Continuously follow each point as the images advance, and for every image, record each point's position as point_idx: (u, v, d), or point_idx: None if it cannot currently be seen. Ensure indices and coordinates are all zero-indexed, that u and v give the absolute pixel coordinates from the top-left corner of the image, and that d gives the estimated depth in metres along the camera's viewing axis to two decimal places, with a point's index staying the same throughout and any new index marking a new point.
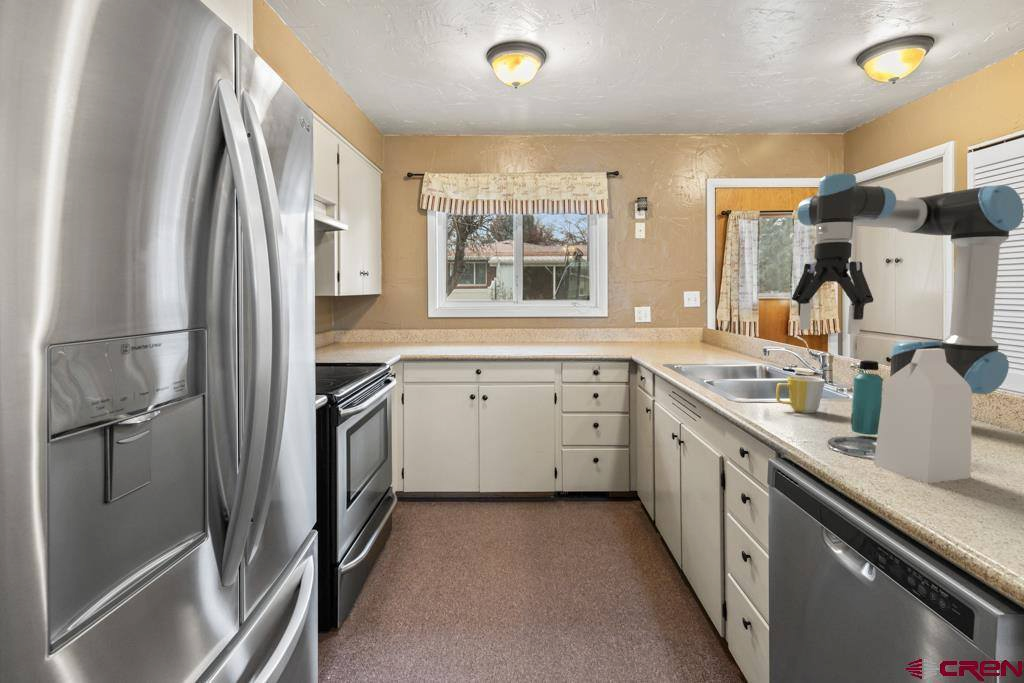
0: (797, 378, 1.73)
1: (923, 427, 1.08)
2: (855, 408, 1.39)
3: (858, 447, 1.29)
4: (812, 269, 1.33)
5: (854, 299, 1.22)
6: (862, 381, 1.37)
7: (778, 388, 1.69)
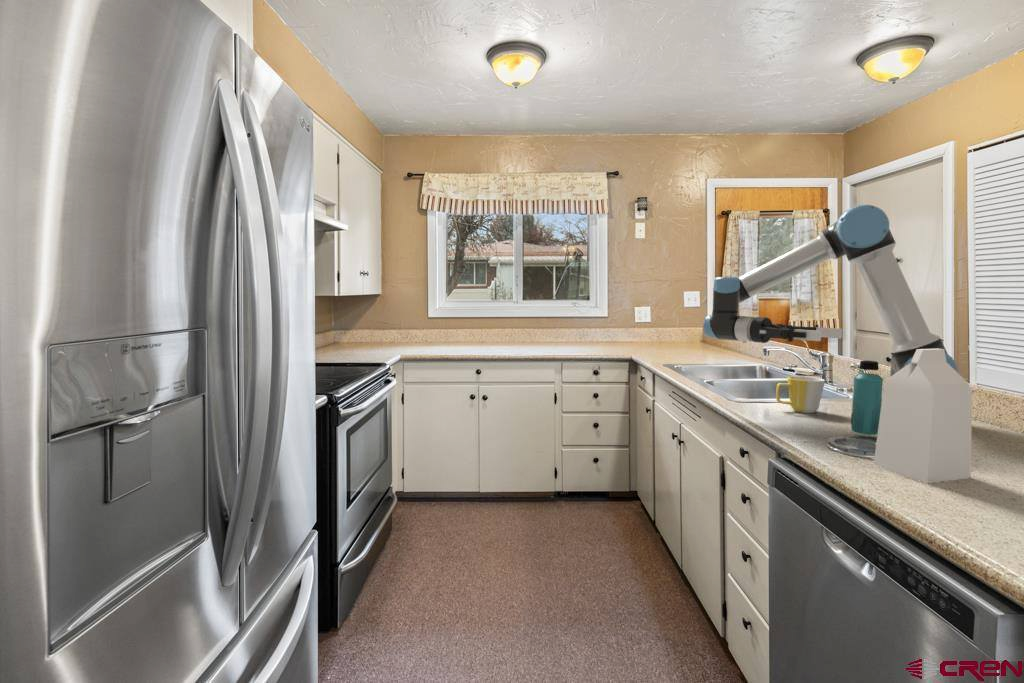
0: (797, 378, 1.73)
1: (923, 427, 1.08)
2: (855, 408, 1.39)
3: (858, 447, 1.29)
4: None
5: (788, 338, 1.47)
6: (862, 381, 1.37)
7: (778, 388, 1.69)
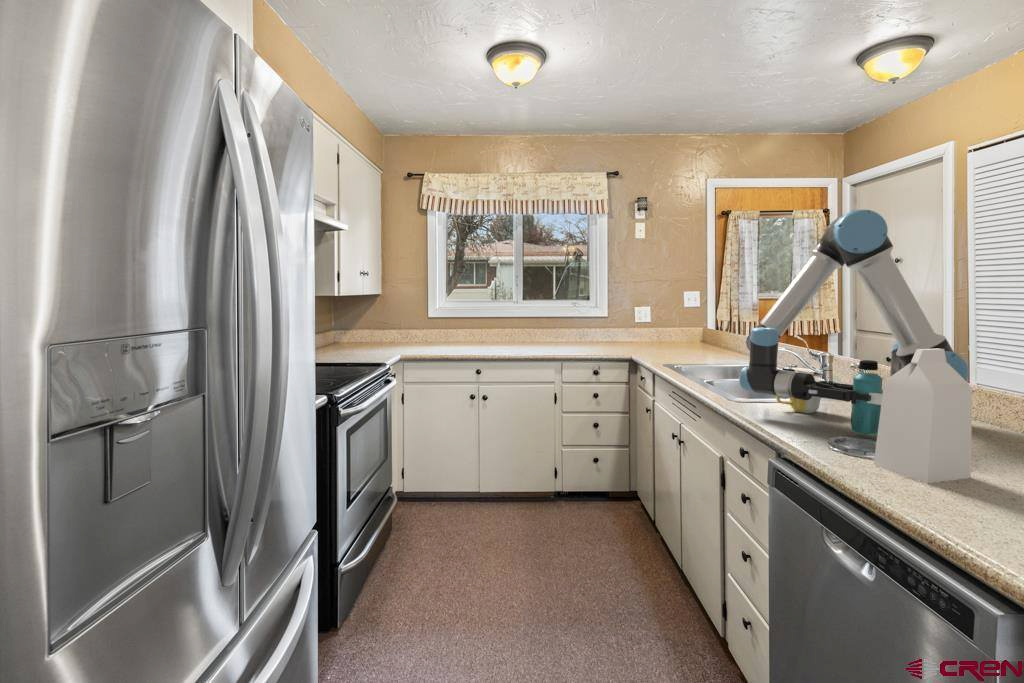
0: None
1: (923, 427, 1.08)
2: (855, 409, 1.39)
3: (858, 447, 1.29)
4: None
5: None
6: (861, 381, 1.37)
7: None
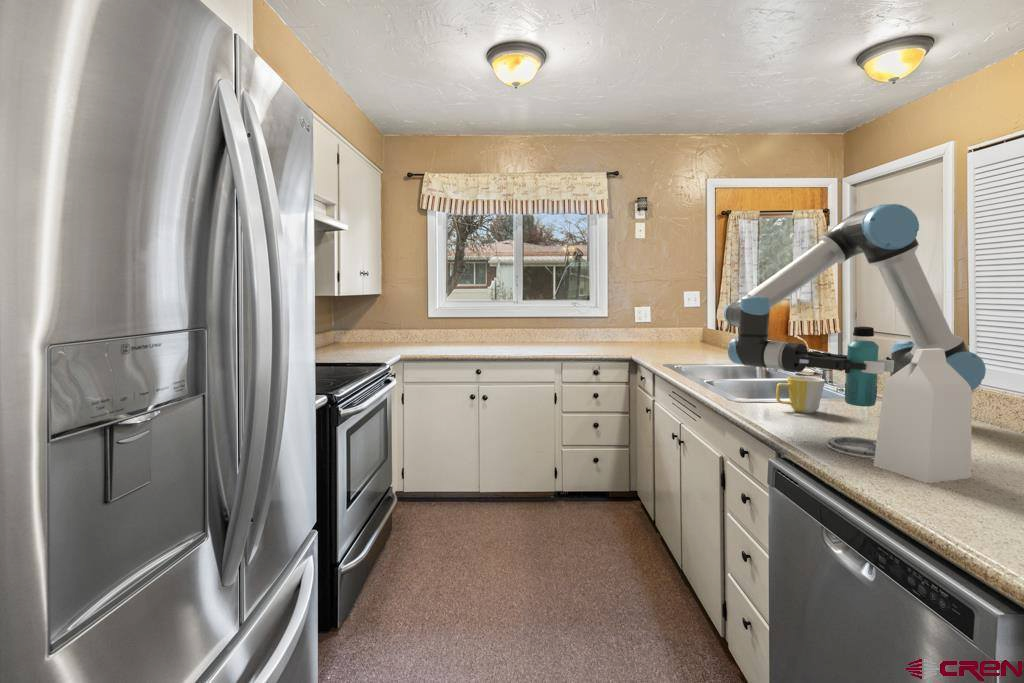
0: (797, 378, 1.73)
1: (923, 427, 1.08)
2: (849, 379, 1.29)
3: (858, 447, 1.29)
4: None
5: (843, 369, 1.29)
6: (855, 349, 1.26)
7: (778, 388, 1.69)
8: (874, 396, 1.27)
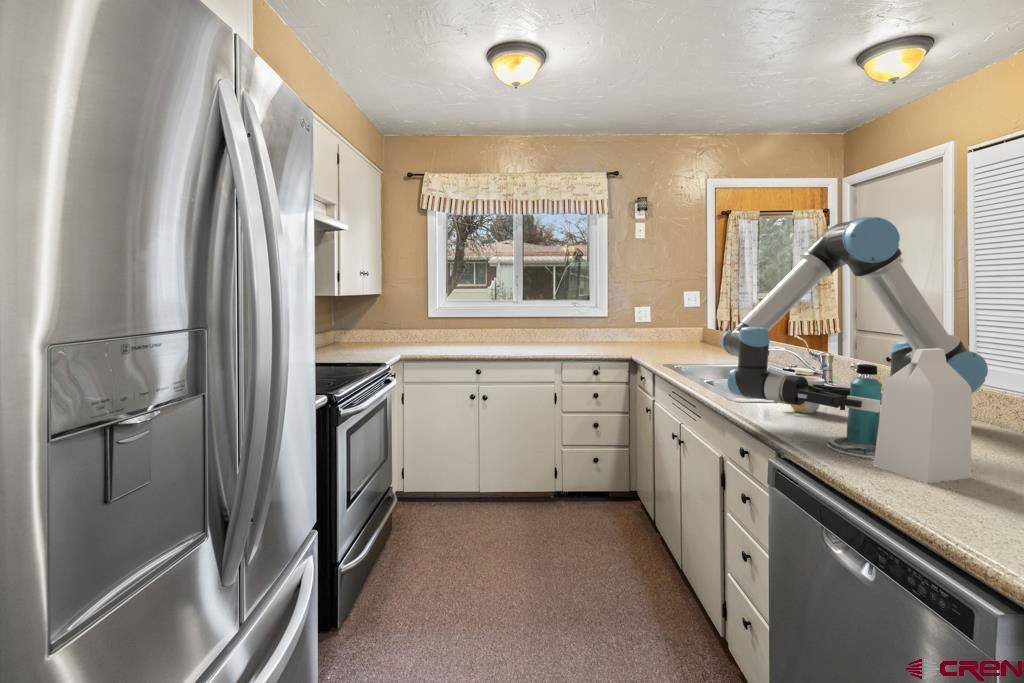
0: None
1: (923, 427, 1.08)
2: (851, 416, 1.28)
3: (858, 447, 1.29)
4: None
5: None
6: (859, 386, 1.26)
7: None
8: (876, 434, 1.27)
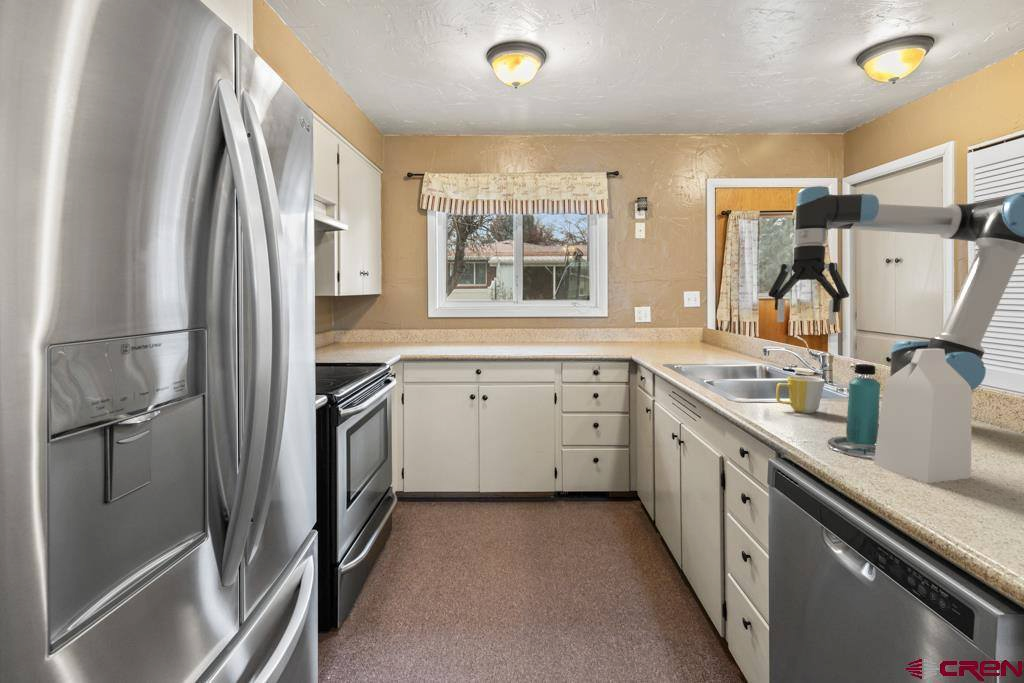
0: (797, 378, 1.73)
1: (923, 427, 1.08)
2: (851, 416, 1.28)
3: (858, 447, 1.29)
4: (788, 269, 1.52)
5: (834, 295, 1.42)
6: (857, 386, 1.26)
7: (778, 388, 1.69)
8: (876, 434, 1.27)
